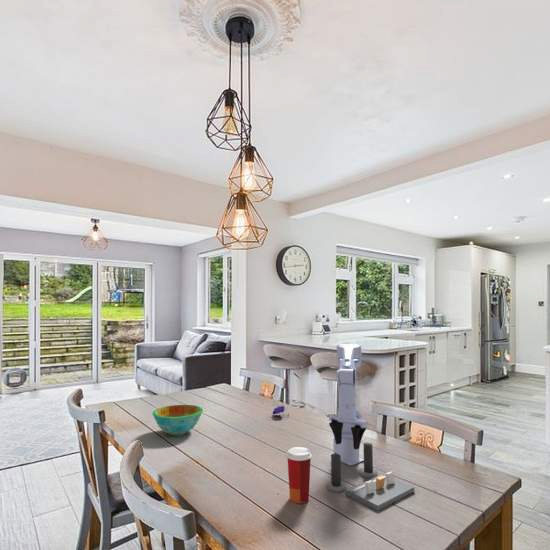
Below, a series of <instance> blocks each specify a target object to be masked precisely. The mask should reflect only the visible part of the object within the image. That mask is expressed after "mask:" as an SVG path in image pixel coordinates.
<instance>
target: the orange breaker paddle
mask: <svg viewBox="0 0 550 550" xmlns="http://www.w3.org/2000/svg"><path fill="white" fill-rule="evenodd" d="M384 481H385V477H383V476H380V477H377V478H376V486H375V487H376V488H377V489H380V488H382V487H384Z"/></svg>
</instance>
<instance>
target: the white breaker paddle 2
mask: <svg viewBox="0 0 550 550" xmlns="http://www.w3.org/2000/svg"><path fill="white" fill-rule="evenodd" d="M384 475H385V476H386V482H387V484H392V483H394V482H395V480H394V479H395V473H394V471H388V472H385V473H384Z"/></svg>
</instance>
